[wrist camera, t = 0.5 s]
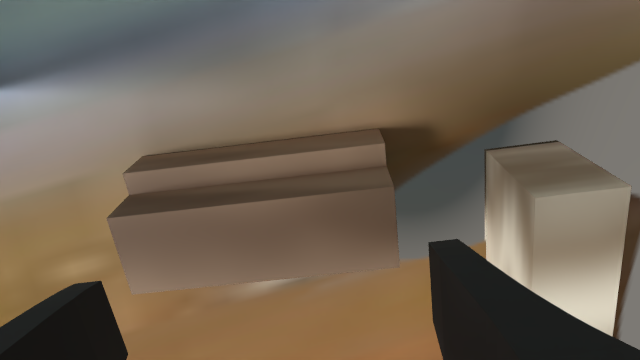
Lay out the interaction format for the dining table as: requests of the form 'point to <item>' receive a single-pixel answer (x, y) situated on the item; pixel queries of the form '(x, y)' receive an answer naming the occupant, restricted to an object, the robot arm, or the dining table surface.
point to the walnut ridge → (257, 213)
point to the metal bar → (557, 227)
